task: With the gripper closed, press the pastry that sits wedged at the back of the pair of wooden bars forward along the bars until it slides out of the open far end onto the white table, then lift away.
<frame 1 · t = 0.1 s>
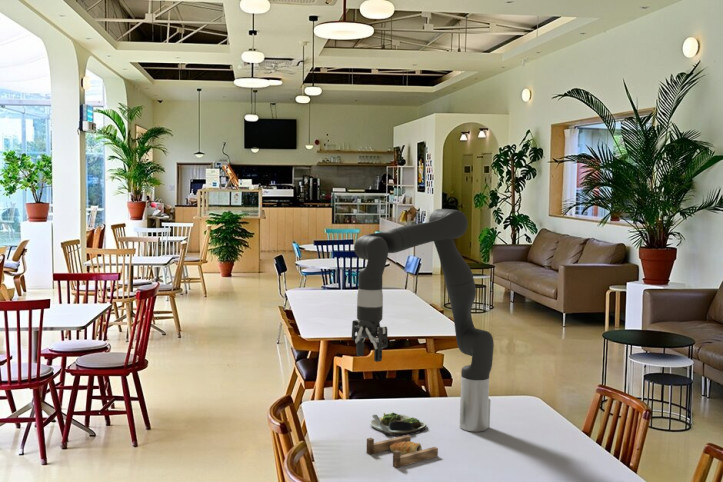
hand: (368, 358, 222), 29 cm above the table, tool pointing down, fingers open, 8 cm apart
salad plate: (398, 429, 250), on the table
pair of wooden bars: (401, 454, 225), on the table
pastry: (407, 454, 226), on the table
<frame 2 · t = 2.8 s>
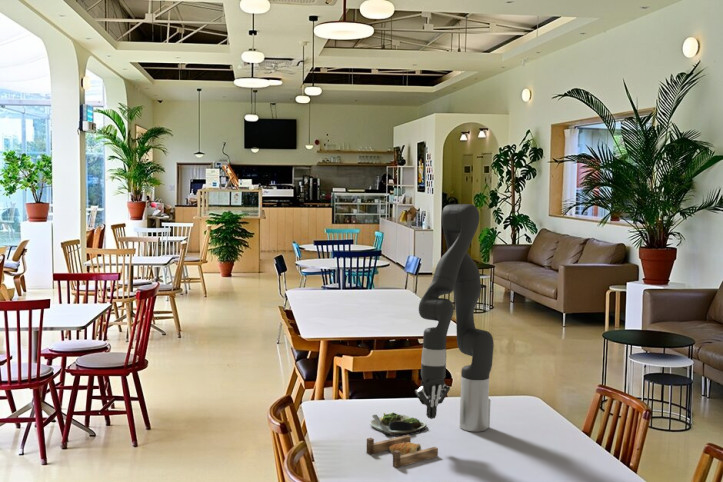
hand: (431, 417, 231), 9 cm above the table, tool pointing down, fingers closed
nothing on the table moved.
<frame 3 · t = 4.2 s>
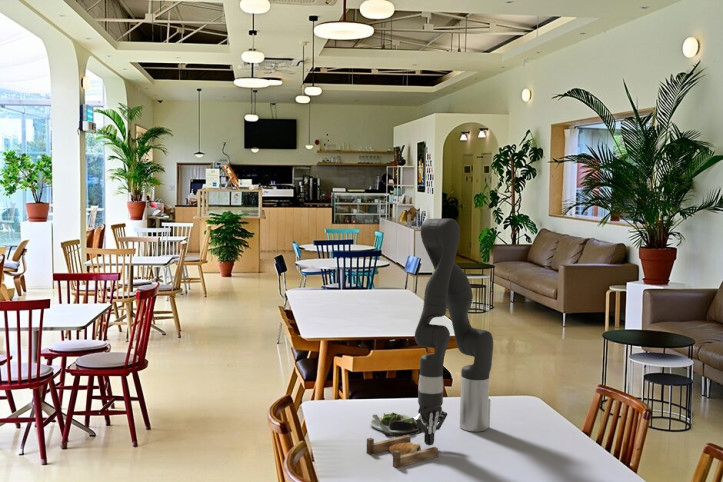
hand: (429, 444, 231), 1 cm above the table, tool pointing down, fingers closed
nothing on the table moved.
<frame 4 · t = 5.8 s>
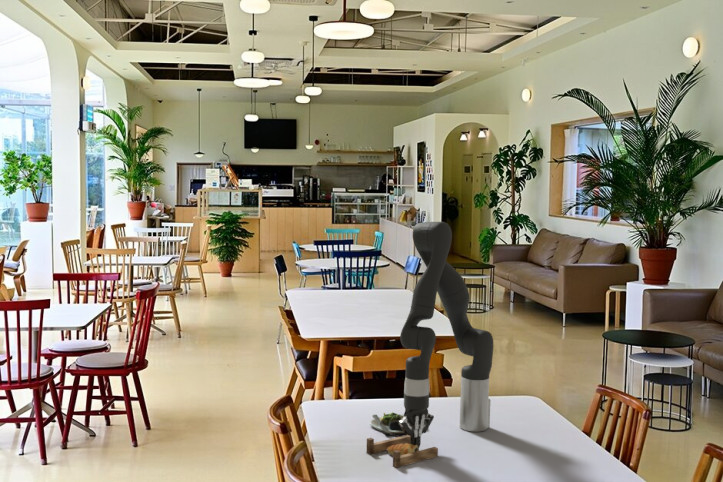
hand: (415, 447, 228), 1 cm above the table, tool pointing down, fingers closed
pastry: (404, 456, 224), on the table, touching gripper
everything else where it was.
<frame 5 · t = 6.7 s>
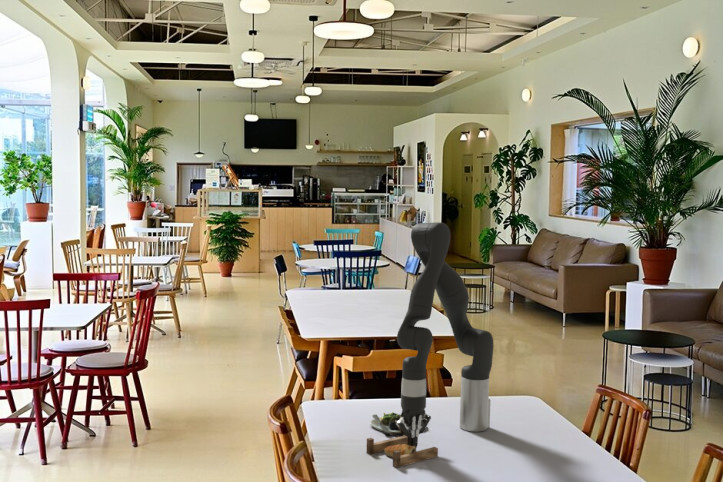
hand: (412, 448, 227), 1 cm above the table, tool pointing down, fingers closed
pastry: (401, 457, 224), on the table, touching gripper
everything else where it was.
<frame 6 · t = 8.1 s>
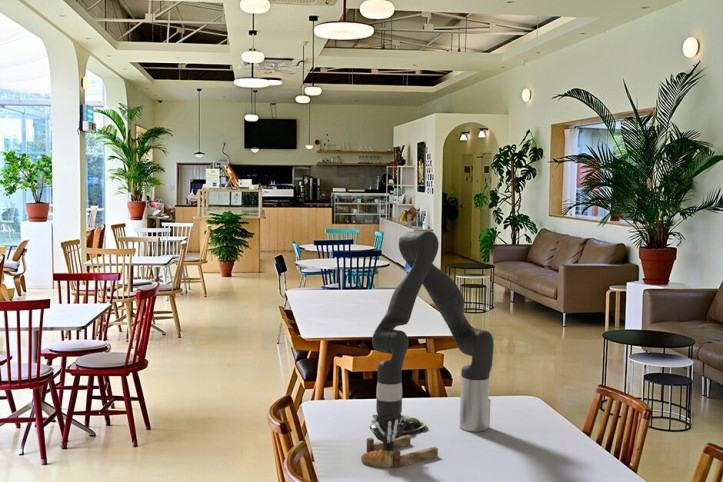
hand: (388, 453, 222), 1 cm above the table, tool pointing down, fingers closed
pastry: (379, 464, 218), on the table
everything else where it was.
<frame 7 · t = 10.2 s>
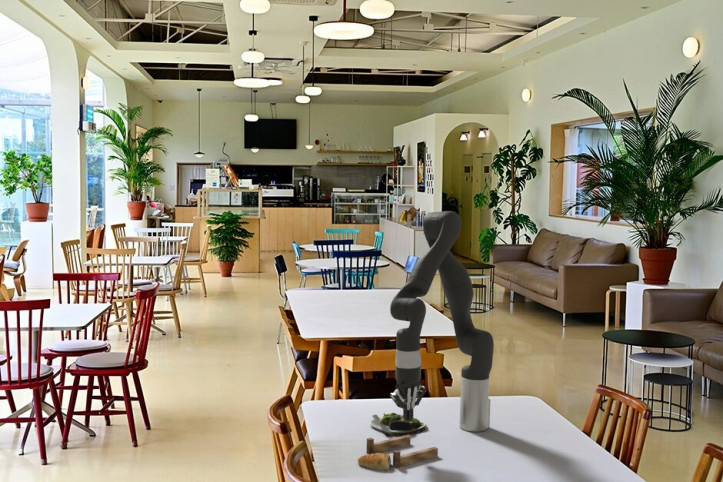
hand: (408, 420, 225), 10 cm above the table, tool pointing down, fingers closed
pastry: (376, 467, 216), on the table
everything else where it was.
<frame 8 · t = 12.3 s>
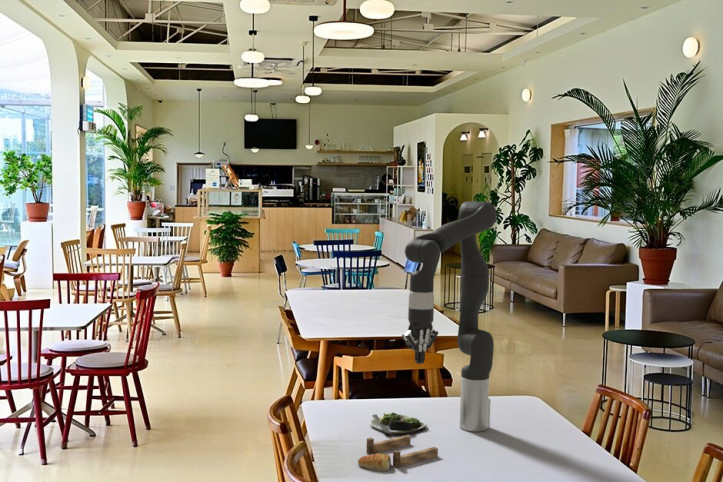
hand: (419, 363, 226), 27 cm above the table, tool pointing down, fingers closed
nothing on the table moved.
at the end: pastry inside the target area (4.5 cm from its centre), on the table; pastry touching table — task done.
